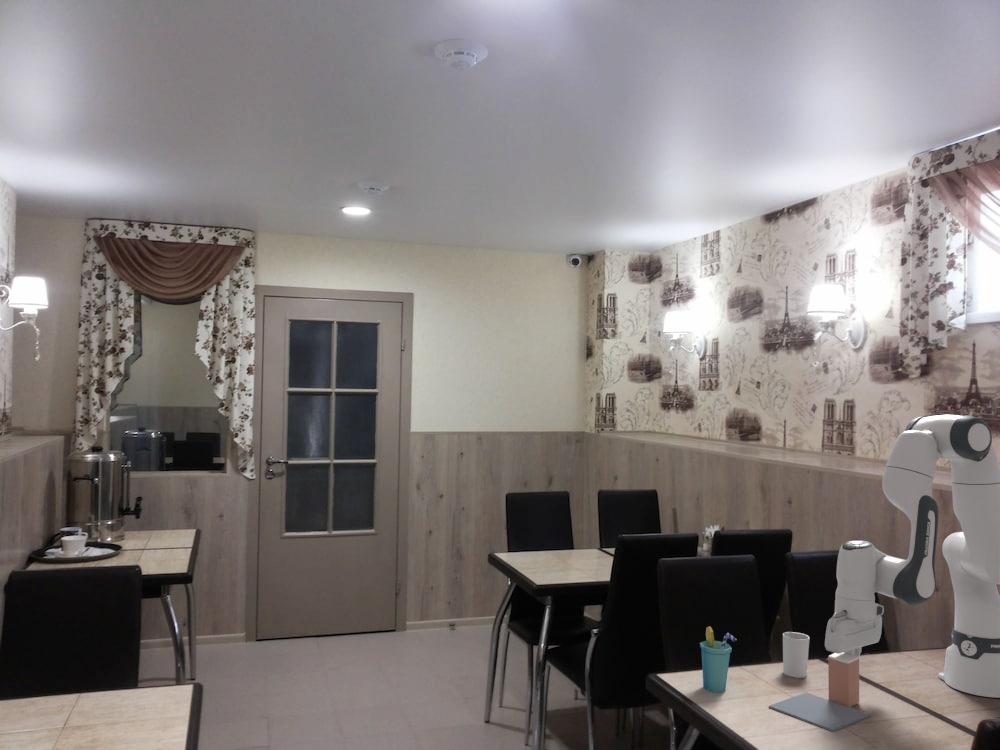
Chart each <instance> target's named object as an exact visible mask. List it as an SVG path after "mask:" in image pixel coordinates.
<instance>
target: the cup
mask: <svg viewBox="0 0 1000 750" xmlns="http://www.w3.org/2000/svg"><path fill="white" fill-rule="evenodd" d="M705 628H706V629H705V639H706V640H703V641H701V642H699V647H700V649H701V662H702V663H701V666H702V684H703V686H702V687H703V688H704V690H706V691H709V692H712V693H724V692H725V691H726V690H727V689H726V688H727V680H728V674H729V664H730V657H731V653H732V646H731V645H730V644H729V643H727V640H728V639H730V640H731V641H732V642H734V643H737V642H738V639H737V638H735V637H734V636H733V635H732V634H730V633H729V632H727V633H725V634H724V637H723V639H722V641H719V640H715V635H714V630H713V628H712V627H711V626H707V627H705Z"/></svg>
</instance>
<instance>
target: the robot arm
mask: <svg viewBox="0 0 1000 750" xmlns="http://www.w3.org/2000/svg"><path fill="white" fill-rule="evenodd" d="M992 441H993V436H992V432H991V429H990V427H989V425H988V424H987V423H986V421H985V420H983V419H982V418H979V417H976V416H973V415H967V414H966V415H959V414H949V413H948V414H939V415H931V416H930V415H922V416H918V417H916V418H913V419H912V420H911V421H910V422H909V423H908V424H907V425H906V427H905V430H904V431H902V432H901V433H899V435H898V436H897V437H896V439H895V441H894V443H893V445H892V447H891V450H890V452H889V454H888V455H889V456H888V457H887V458H888V459H887V461H886V465H885V468H884V472H883V476H882V480H881V481H882V482H881V483H882V484H881V487H882V488H881V489H882V491H883V494H884V496H885V498H886V499H887V500H888V501H889V502H890V503H891V504H892V505H893V506H894V507H896V508H897V509H899V510H900V511H901V512H903V514H904V515H906V516H907V518H908V520H909V521H910V524H911V525H910V526H911V527H910V528H911V531H910V538H909V539H910V540H909V541H910V542H909V549H908V550H909V551H908V557H907V558H906V559H904V558H901V557H900V558H899V557H895V556H892V555H889V554H886V553H885V552H883V551H881V550H879V549H877V548H876V547H875V546H874V544H873V543H872V542H870V541H866V540H860V539H859V540H858V539H857V540H848V541H845V542H843V543H842V544H841V546H840V547H839V551H838V554H837V561H836V562H837V563H836V580H837V587H836V590H835V600H834V613H833V615H832V616H831V617H830V618H829V620H828V621H827V625H826V630H825V638H824V648H825V650H826V651H828V652H831V653H833V654H834V653H838V654H839V653H843V652H844V653H847V654H851V655H855V656H858V657H859V658H860V656H861V653H862V647H866V646H869V645H873V644H876V643H879V641H880V639H881V635H882V627H883V617H882V615H884V612H885V608H884V607H885V606H883V605H881V604H879V603H877V602H875V601H876V596H875V593H879V594H881V595H884V596H885V597H889V598H893V599H897V600H898V601H900V602H902V603H904V604H908V605H910V606H913V607H914V606H915V607H918V606H920V605H922V604H925V603H926V602H928V601H929V600H931V598H932V597H933V596H934V594H935V592H936V584H937V582H936V581H937V579H936V569H935V568H936V567H935V566H936V553H937V542H938V541H937V540H938V532H939V506H938V503H937V502H936V500H935V499H934V496H933V482H934V477H935V472H936V467H937V462H938V461H939V460H940V459H948V460H949V461H950V464H951V468H950V471H951V472H950V476H951V477H950V478H951V480H950V481H951V493H952V494H951V495H952V508H953V513H954V515H955V517H956V518H957V520H958V522H959V524H960V527H961V530H962V531H957V532H953V533H951V534H949V535H947V536H946V537H945V539H944V540H943V542H942V547H941V551H942V555H943V558H944V559H945V561H946V563H947V566H948V569H949V575H950V580H951V585H952V589H953V596H954V597H953V599H954V627H952V629H951V630H952V631H951V643H952V644H951V645H949V646H948V647H946V650H945V659H944V660H945V661H944V668H943V671H942V672H938V678H939V679H940V680H942V681H944V682H945V684H946V685H948V687H951V688H953V689H955V690H958V691H960V692H963V693H965V694H966V693H967V694H970V695H975V696H978V697H979V696H980V697H987V698H997V699H999V698H1000V593H999V590H998V586H997V585H999V586H1000V466H999V462H998V458H997V453H996V451H995V448H994V446H993V445H992Z"/></svg>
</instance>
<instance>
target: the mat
mask: <svg viewBox="0 0 1000 750" xmlns="http://www.w3.org/2000/svg"><path fill="white" fill-rule="evenodd" d="M768 708H769V709H772V710H774V711H777V712H780V713H783V714H785V715H787V716H791V717H793V718H796V719H798V720H800V721H804V722H807V723H808V724H812V725H814V726H817V727H820V728H822V729H825V730H828V731H830V732H832V733H833V732H836V731H838V730H840V729H842V728H845V727H847V726H850V725H852V724H855V723H857V722H859V721H860V722H861V721H862V720H864V719H866V718H869V717H871V714H870V713H868V712H865V711H862V710H859V709H856V708H853V707H852V706H851V707H848V706H845V705H842V704H839V703H836V702H833V701H830V700H829V699H828V698H825V697H822V696H818V695H815V694H812V693H810V692H807V691H806V692H804V693H800V694H799V695H795V696H792V697H790V698H787V699H784V700H781V701H779V702H778V701H777V702H776V703H774V704H771V705H768Z"/></svg>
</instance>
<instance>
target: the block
mask: <svg viewBox="0 0 1000 750" xmlns="http://www.w3.org/2000/svg"><path fill="white" fill-rule="evenodd" d="M827 661H828V700H830V701H833V702H836V703H839V704H842V705H845V706H848V707H851V708H852V707H853V706H855V705H858V704H859V703H860V656H859V657H858V656H855V655H851V654H847V653H844V652H843V653H839V654H838V653H834V652H833V653H831V654H829V655H828V660H827Z"/></svg>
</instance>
